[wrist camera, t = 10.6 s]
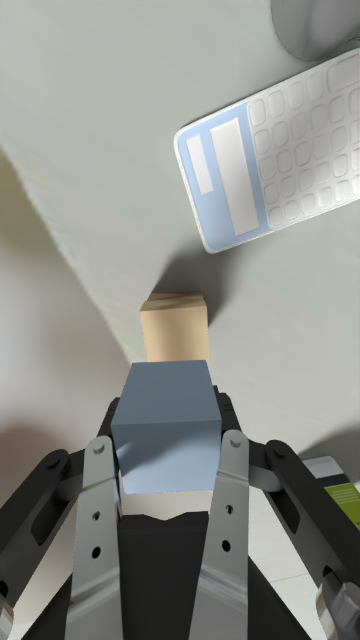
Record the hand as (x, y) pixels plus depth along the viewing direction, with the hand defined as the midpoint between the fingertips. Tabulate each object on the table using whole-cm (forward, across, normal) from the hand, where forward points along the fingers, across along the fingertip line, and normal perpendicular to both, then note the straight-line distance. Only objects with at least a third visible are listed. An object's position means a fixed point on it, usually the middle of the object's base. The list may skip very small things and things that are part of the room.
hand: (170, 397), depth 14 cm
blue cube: (+1, 0, 0) cm, 1 cm away
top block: (+12, 0, 0) cm, 12 cm away
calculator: (+17, -12, -18) cm, 27 cm away
